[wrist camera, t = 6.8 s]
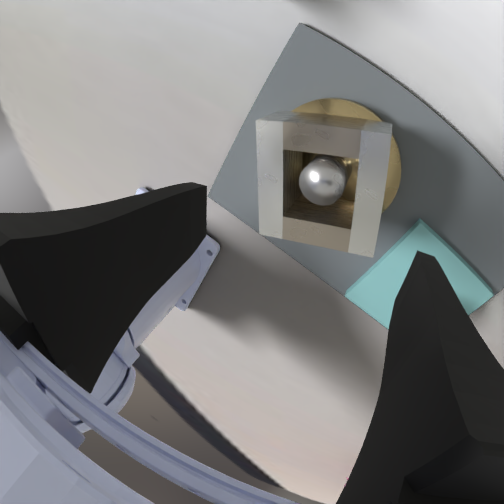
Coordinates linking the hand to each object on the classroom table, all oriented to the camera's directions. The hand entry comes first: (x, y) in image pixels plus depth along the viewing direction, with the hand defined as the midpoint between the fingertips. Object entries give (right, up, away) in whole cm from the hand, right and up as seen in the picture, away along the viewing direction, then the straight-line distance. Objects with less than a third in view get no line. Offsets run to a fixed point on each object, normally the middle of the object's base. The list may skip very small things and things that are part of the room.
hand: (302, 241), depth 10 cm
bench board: (+6, +2, +7) cm, 9 cm away
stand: (+9, -3, +8) cm, 12 cm away
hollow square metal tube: (+2, +4, +5) cm, 7 cm away
